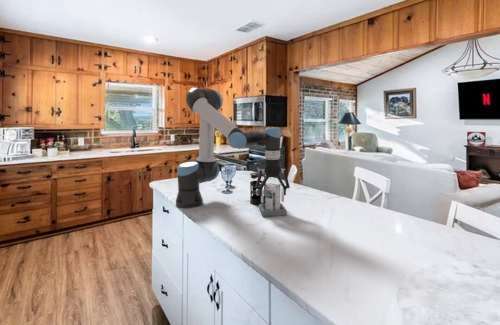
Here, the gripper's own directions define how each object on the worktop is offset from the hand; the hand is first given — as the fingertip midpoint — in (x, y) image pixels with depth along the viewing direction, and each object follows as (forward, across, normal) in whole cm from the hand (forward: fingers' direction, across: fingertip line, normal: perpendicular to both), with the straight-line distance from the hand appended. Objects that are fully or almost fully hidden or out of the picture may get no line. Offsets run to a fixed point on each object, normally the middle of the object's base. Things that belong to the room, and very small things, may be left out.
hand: (272, 201), depth 146 cm
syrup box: (+5, 0, 0) cm, 5 cm away
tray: (+6, 0, 0) cm, 6 cm away
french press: (+6, -5, +19) cm, 21 cm away
